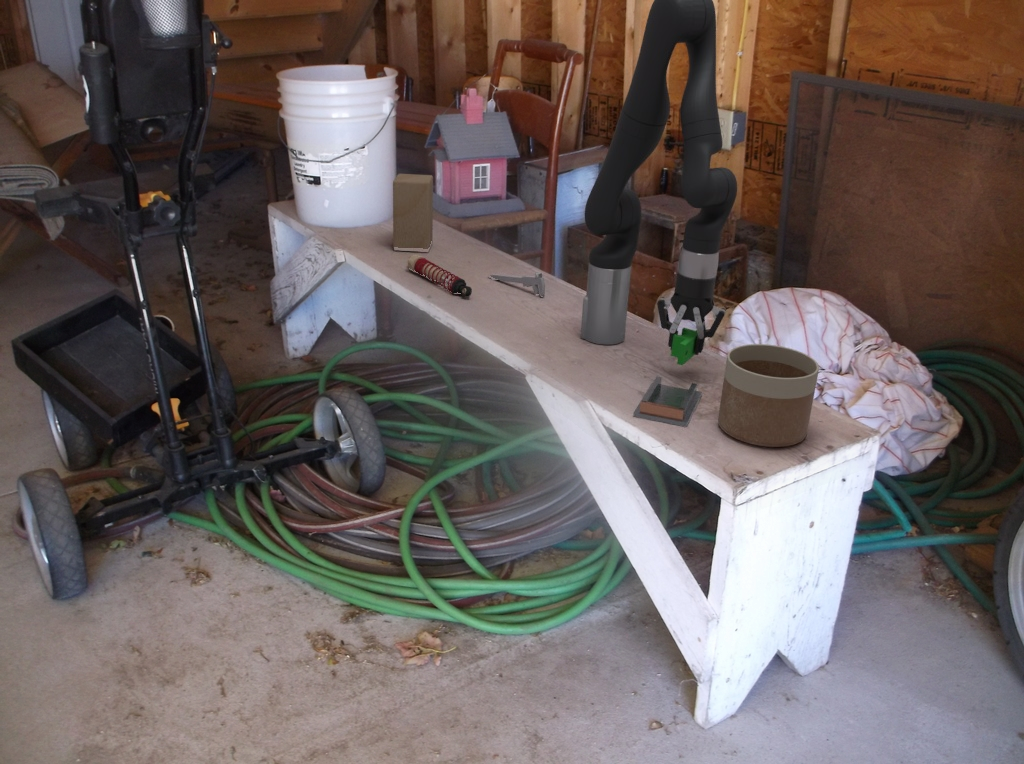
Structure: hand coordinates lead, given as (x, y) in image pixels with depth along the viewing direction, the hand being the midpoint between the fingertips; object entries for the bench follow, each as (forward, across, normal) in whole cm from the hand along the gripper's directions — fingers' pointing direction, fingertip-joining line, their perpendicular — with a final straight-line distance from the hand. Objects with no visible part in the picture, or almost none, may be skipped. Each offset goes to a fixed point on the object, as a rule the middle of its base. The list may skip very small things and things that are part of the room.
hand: (684, 350), depth 192 cm
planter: (+5, -18, +18) cm, 26 cm away
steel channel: (+5, -1, +16) cm, 16 cm away
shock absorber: (+9, +69, -32) cm, 77 cm away
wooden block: (+10, +89, -58) cm, 106 cm away
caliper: (+8, +51, -38) cm, 64 cm away
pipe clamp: (+1, 0, 0) cm, 1 cm away
